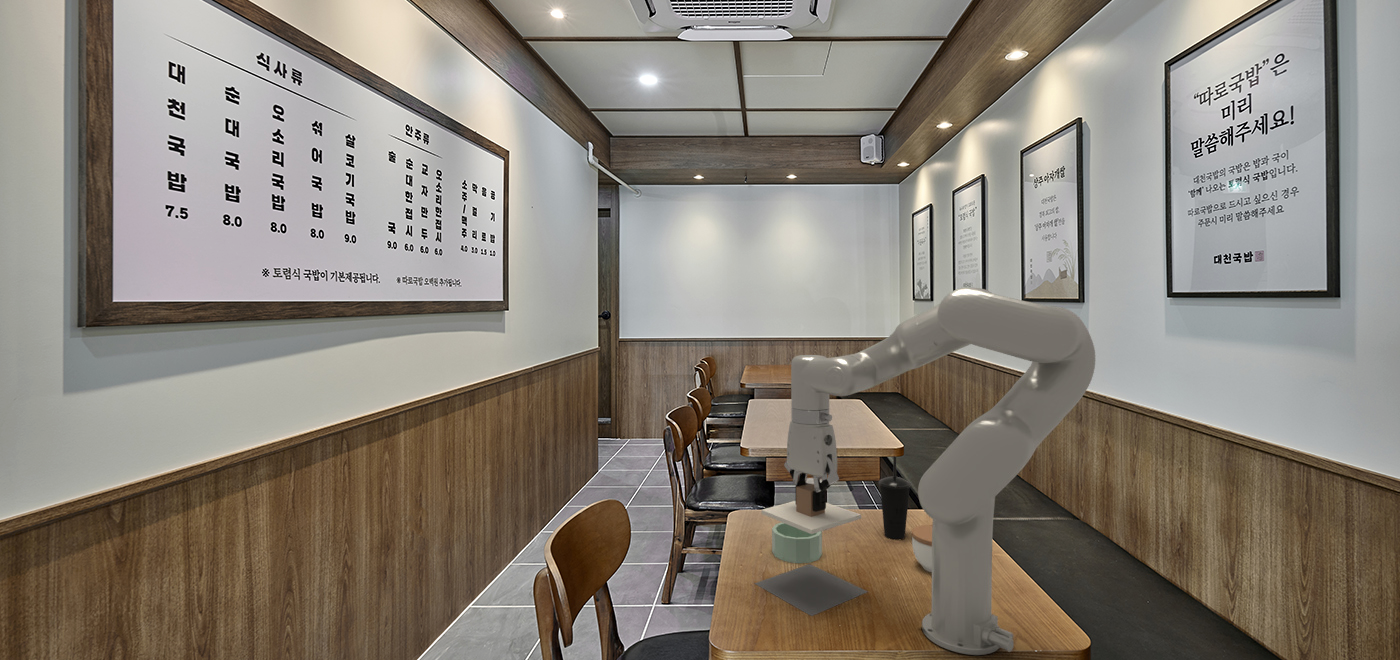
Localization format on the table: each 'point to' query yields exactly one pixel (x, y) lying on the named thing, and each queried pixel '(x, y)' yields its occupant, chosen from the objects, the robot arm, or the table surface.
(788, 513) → the lid
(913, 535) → the lidded jar
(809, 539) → the bowl
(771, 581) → the mat
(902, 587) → the table surface
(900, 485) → the drinking cup
